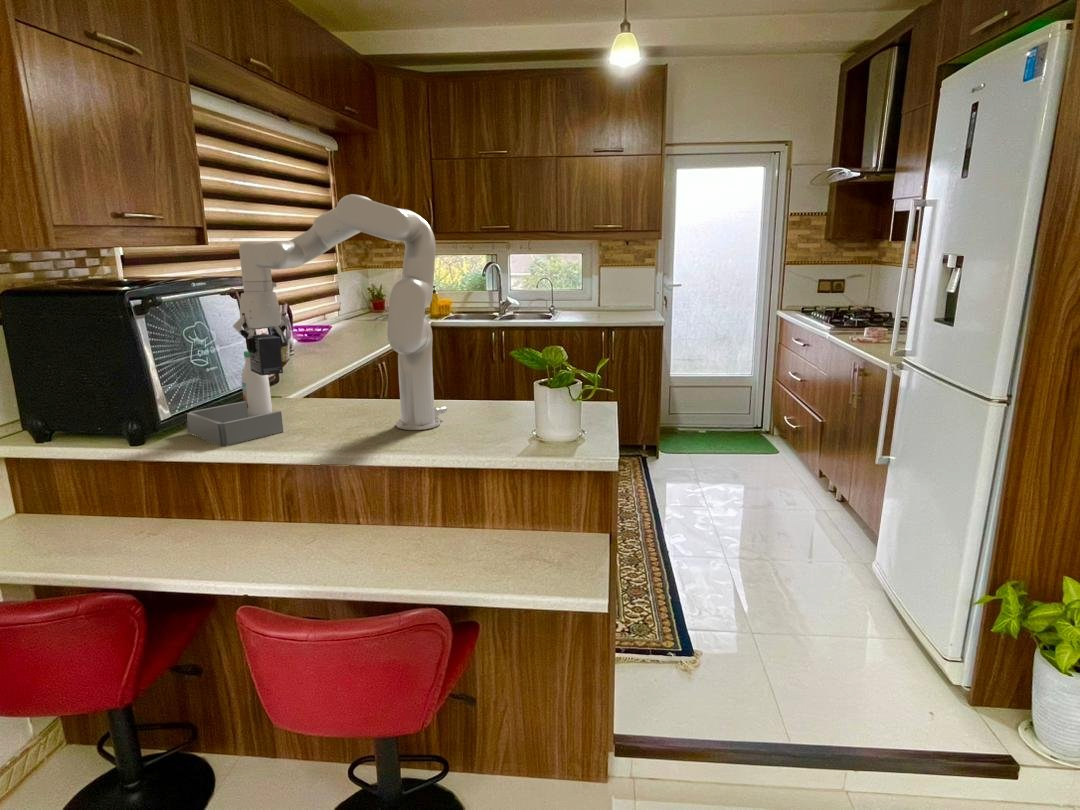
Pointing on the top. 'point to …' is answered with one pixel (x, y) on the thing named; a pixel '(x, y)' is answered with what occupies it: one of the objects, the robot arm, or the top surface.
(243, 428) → the tray
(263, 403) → the milk bottle
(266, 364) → the small box
